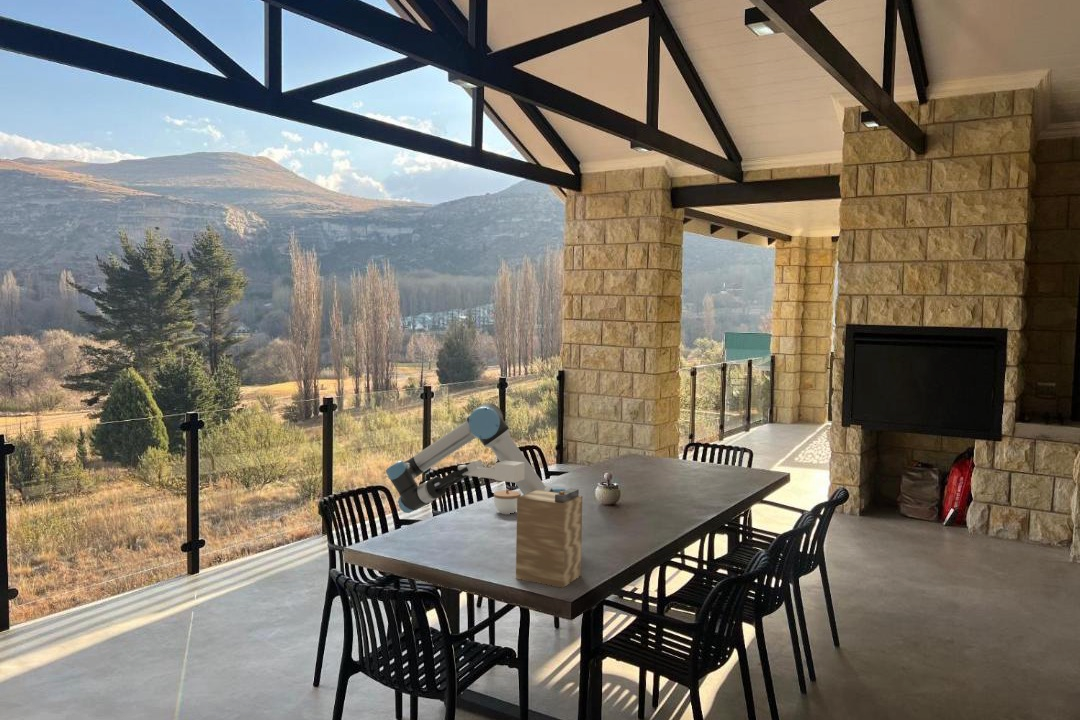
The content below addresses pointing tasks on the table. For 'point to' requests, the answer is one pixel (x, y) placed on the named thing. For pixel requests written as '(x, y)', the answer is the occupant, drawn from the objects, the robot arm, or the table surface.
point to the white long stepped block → (500, 471)
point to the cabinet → (549, 537)
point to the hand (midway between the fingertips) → (478, 464)
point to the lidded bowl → (506, 501)
